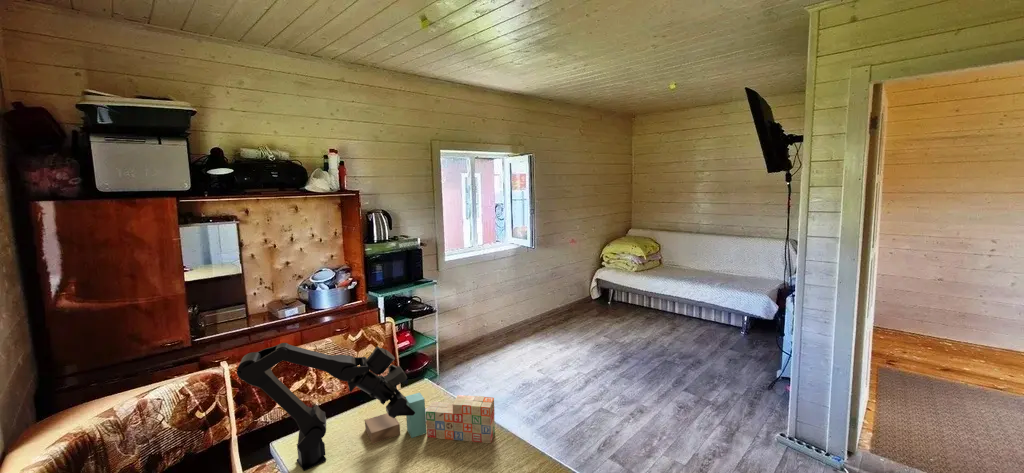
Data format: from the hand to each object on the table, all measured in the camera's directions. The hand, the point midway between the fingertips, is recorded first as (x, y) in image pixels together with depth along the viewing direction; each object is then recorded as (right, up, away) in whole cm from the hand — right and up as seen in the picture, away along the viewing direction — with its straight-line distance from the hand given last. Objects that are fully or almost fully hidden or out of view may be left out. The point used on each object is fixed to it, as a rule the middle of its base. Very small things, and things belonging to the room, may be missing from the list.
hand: (410, 407), depth 139 cm
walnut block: (-10, -10, +2) cm, 14 cm away
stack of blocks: (+17, -9, 0) cm, 19 cm away
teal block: (+2, -9, +2) cm, 9 cm away
